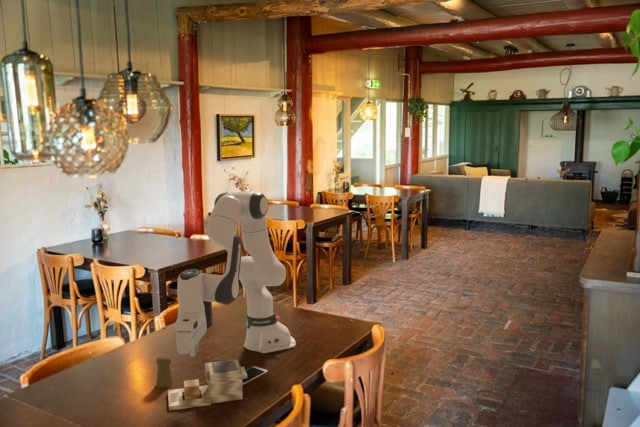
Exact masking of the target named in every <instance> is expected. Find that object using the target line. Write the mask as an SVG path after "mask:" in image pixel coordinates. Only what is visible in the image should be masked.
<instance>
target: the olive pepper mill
mask: <svg viewBox="0 0 640 427" xmlns="http://www.w3.org/2000/svg"><path fill="white" fill-rule="evenodd" d="M171 362H172V358H171V356H170V355H168V354H167V355H166V354H162V355H159V356H158V357H157V358H156V363H155V364H156V365H157V375H156V383H155V384H156V388H158V389H168V388H171V387H172V386H173V384H174V381H173V380H174V379H173V375H172V370H171Z"/></svg>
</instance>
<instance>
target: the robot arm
mask: <svg viewBox="0 0 640 427" xmlns="http://www.w3.org/2000/svg"><path fill="white" fill-rule="evenodd" d="M213 205H214V206H213V208H212V211H211V213H210V215H209V220H208V222H207V226H206V235H207V237H208V239H209V240H210V241H211V242H212V243H213V244H214V245H216V246H217V247H219V248H221V249H223V250H225V251H226V252H227V257H226V266H225V272H224V273H222V274H211V273H204V272H201V270H199V269H197V268H189V269H186V270H184V271H181V272H180V273H179V275H178V277H177V289H176V290H177V293H176V294H177V300H178V307H177V308H178V311H177V312H178V314H177V318H176V321H175V323H174V326H173V329H174V331H176V332H175V341H176V342H175V343H176V350H177V352H178V354H180V355H189V357H190V358H195V356H196V355H197V354H198V348H199V343H200V341H201V339H202V338H203V337H204V335H205V334H206V333H207V329H208V328H207V327H208V326H207V324H206V316H205V307H204V303H203V301H208V302H212V303H217V304H221V305H227V306H228V305H230V304H232V303H233V302H235V301H236V300H237V298H238V296H239V293H240V283H241V285H242V287H243V289H244V293H245V296H246V308H247V309H246V310H247V311H246V312H247V313H246V315H245V316H246V317H245V318H246V319H245V324H246V336H245V341H244V344H243V347H244V348H245V349H246V350H248V351H253V352H258V353H261V354H267V353H273V352H277V351H283V350H287V349H291V348H295V347H296V345H297V344H296V340H295V338H294V337H293V336H291V332H290V330H289V328H288V327H287V326H286V325H284V324H283V323H281V322H280V320H281V317H280V316H279V315H278V314H277V313H275V312H274V310H273V309H274V304H273V303H274V302H273V300H274V297H273V295H272V294H271V292H270V291H269V290H268V289H267V287H266V286H268V287H278V286H281V285H282V284H283V283H284V281H285V280H286V277H287V269H286V267H285V264H283V263H281V261H280V260H279V259H278V258H277V256H276V254H275V252H274V251H273V248H272V246H271V242H270V236H269V230H268V224H267V223H268V222H267V217H266V214H267V213H268V210H269V202H268V198H267V197H266V195H265V194H263V193H262V192H258V191H254V192H252V191H234V192H223V193H220V194H218V195H217V197H216V198H215V200H214V204H213ZM239 224H240V232H241V236H239V235H238V228H239ZM242 248H244V250H245V251H246V252H247V253H248V254H249V255H250V256H249V255H247V256H242V254H243V253H242V252H243V251H242V250H243V249H242Z"/></svg>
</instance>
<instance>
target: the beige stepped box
mask: <svg viewBox="0 0 640 427" xmlns="http://www.w3.org/2000/svg"><path fill="white" fill-rule="evenodd" d="M207 363H208V367H209V371H210V383H207V384H206V385H199V388H200V398H199V399H191V400H185V399H184V398H183V397H184V387H182V388H176V389H167V399H168V400H167V401H168V411H175V410H182V409H184V410H185V409H190V408H198V407H205V406H211V405H212V404H215V403H217V404H219V403H223V402H231V401H238V400H243V385H242V369H241V367H242V366H241V364H240V362H239V359H231V360H221V361H214V362H212V361H211V362H207Z"/></svg>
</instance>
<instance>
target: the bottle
mask: <svg viewBox="0 0 640 427" xmlns="http://www.w3.org/2000/svg"><path fill="white" fill-rule="evenodd" d="M203 303H204V307H205V316H206V324H207V327H209V326H211V325H212V324H213V309H212V308H213V304H212V303H213V302H208V301H203Z"/></svg>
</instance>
